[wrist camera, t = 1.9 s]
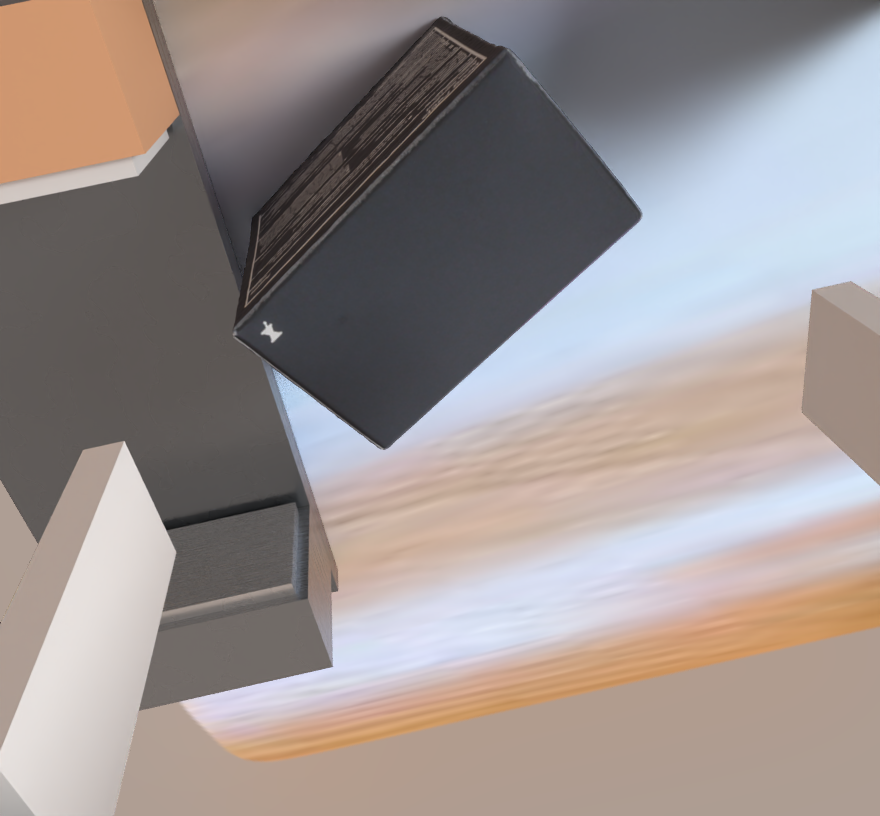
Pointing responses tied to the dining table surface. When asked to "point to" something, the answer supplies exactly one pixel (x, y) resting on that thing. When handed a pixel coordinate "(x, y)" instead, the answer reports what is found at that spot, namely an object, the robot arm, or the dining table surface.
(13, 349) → the vise
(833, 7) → the dining table surface
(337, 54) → the dining table surface
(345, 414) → the small box
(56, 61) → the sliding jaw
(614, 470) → the dining table surface
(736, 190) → the dining table surface
